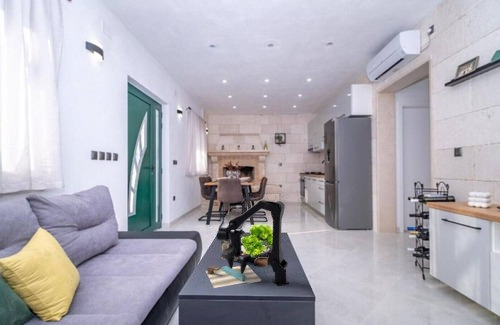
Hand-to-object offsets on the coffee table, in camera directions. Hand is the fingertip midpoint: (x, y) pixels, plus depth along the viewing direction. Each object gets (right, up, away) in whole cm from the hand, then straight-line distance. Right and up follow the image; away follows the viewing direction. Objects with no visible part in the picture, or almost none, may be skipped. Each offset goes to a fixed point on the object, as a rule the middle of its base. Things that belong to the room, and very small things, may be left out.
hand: (236, 271), depth 136 cm
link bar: (-1, -1, -2) cm, 3 cm away
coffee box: (-6, -3, +23) cm, 24 cm away
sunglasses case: (+15, -3, +20) cm, 25 cm away
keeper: (-11, -1, -1) cm, 11 cm away
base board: (-2, -2, -2) cm, 4 cm away
